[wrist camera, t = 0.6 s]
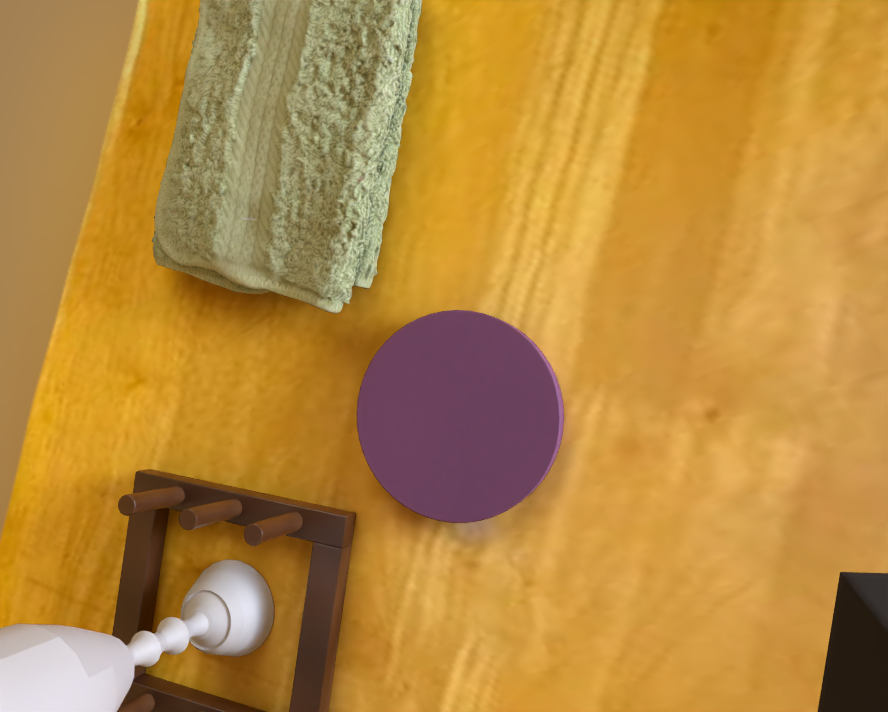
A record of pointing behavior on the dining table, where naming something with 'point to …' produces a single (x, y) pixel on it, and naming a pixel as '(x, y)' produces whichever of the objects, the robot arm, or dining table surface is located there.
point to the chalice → (131, 645)
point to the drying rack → (267, 517)
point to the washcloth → (287, 145)
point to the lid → (459, 416)
